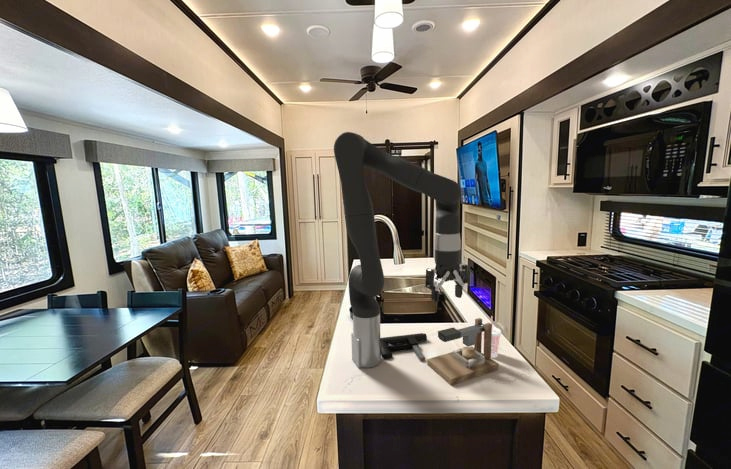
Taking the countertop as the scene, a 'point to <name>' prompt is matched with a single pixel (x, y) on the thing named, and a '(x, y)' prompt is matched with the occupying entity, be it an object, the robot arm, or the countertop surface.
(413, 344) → the black toy gun
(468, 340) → the nutcracker lever
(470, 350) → the wooden nut
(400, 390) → the countertop surface
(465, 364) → the nutcracker bench
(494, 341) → the beverage cup
